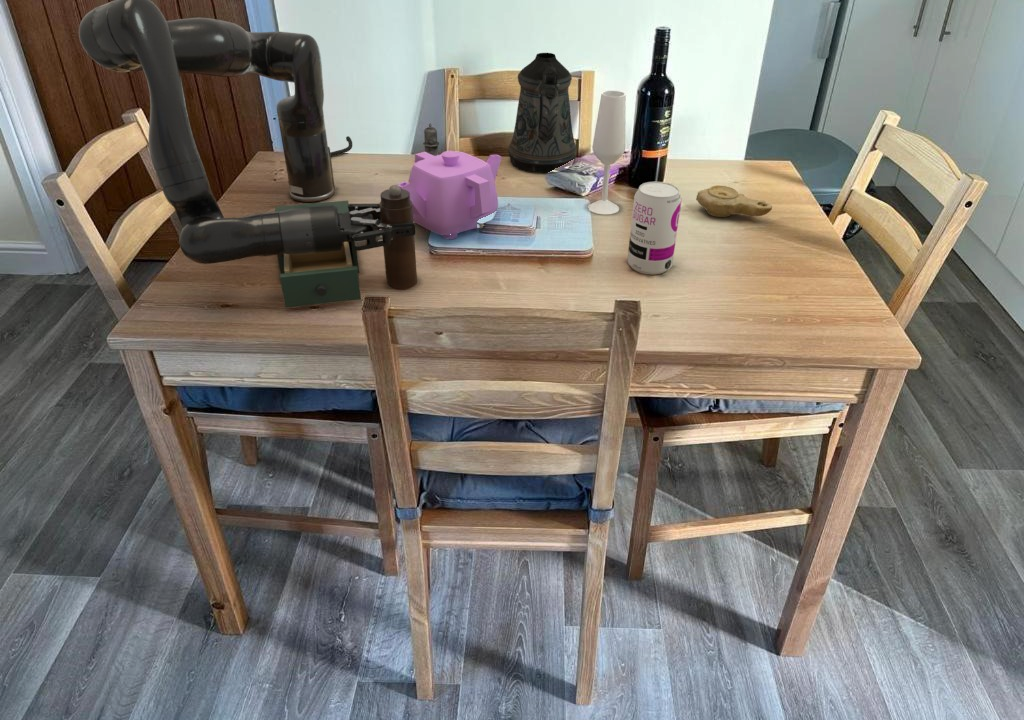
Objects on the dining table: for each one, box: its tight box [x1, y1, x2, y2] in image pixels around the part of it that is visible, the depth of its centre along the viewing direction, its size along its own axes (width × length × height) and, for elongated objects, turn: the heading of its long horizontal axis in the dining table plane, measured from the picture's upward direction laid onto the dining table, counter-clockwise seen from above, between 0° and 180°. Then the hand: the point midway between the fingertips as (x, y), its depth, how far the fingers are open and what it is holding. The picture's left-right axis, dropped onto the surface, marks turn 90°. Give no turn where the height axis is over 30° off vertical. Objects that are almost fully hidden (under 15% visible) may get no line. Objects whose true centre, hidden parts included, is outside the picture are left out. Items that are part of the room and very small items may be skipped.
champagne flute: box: [587, 89, 627, 215], centre depth 156 cm, size 7×7×24 cm
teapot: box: [396, 150, 502, 240], centre depth 151 cm, size 19×18×15 cm
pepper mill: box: [379, 184, 418, 291], centre depth 130 cm, size 5×5×18 cm
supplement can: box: [627, 181, 683, 276], centre depth 137 cm, size 8×8×15 cm
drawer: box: [279, 242, 362, 309], centre depth 131 cm, size 16×12×6 cm
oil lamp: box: [695, 184, 773, 218], centre depth 160 cm, size 11×14×5 cm
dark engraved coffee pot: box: [507, 52, 578, 174], centre depth 177 cm, size 16×19×25 cm
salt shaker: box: [422, 122, 440, 156], centre depth 174 cm, size 6×6×12 cm
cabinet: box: [274, 199, 360, 274], centre depth 140 cm, size 16×14×8 cm
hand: (412, 221), depth 129 cm, fingers closed on pepper mill, 5 cm apart
